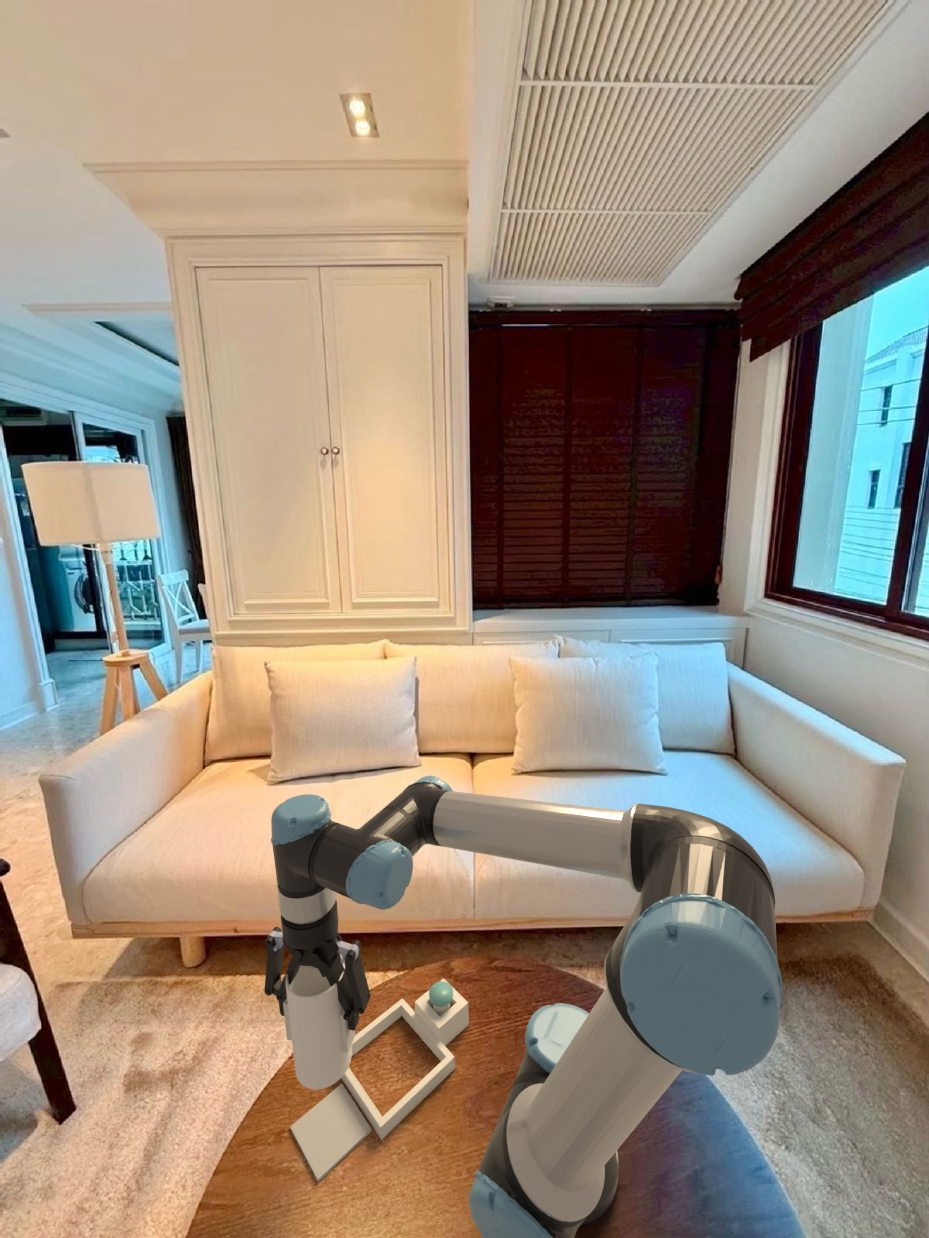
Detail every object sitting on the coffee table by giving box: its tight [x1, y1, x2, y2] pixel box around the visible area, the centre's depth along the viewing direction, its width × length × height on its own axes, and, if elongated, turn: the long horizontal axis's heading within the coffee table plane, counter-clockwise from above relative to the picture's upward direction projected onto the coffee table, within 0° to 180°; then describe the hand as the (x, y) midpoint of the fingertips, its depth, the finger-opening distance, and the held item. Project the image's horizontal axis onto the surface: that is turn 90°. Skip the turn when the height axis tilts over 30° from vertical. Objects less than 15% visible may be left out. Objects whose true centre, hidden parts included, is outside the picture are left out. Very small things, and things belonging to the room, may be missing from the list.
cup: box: [285, 953, 353, 1091], centre depth 76 cm, size 8×8×16 cm
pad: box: [290, 1083, 372, 1183], centre depth 81 cm, size 9×9×1 cm
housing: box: [340, 978, 470, 1141], centre depth 92 cm, size 15×22×5 cm
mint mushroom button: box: [428, 980, 454, 1016], centre depth 96 cm, size 4×4×5 cm
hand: (321, 1036), depth 77 cm, fingers closed on cup, 8 cm apart
